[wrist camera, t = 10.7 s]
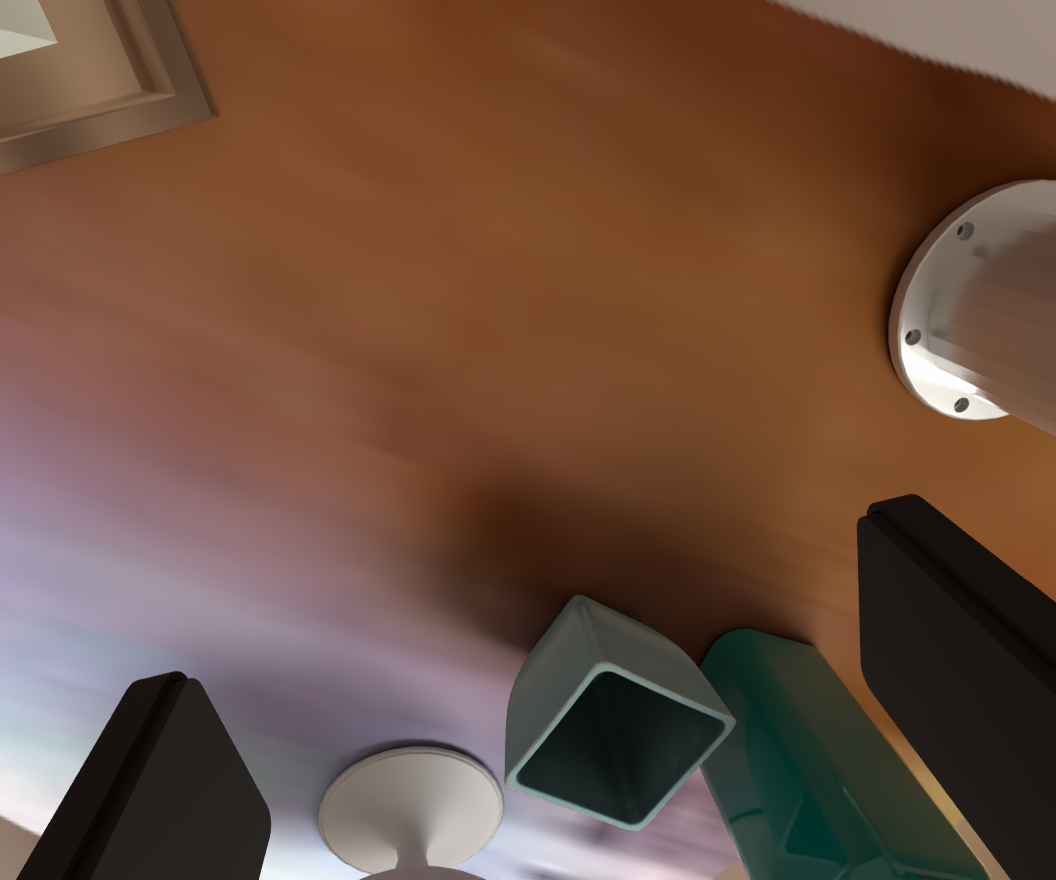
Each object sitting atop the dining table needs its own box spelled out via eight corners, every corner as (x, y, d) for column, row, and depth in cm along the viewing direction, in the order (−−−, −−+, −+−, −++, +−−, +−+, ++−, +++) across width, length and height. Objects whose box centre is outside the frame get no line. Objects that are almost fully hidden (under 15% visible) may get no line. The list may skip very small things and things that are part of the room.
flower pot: (485, 663, 43) (499, 788, 35) (564, 553, 41) (601, 660, 33) (600, 710, 46) (639, 836, 38) (681, 610, 44) (741, 722, 35)
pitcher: (768, 741, 49) (1005, 1160, 29) (663, 717, 47) (842, 1154, 27) (842, 631, 46) (1165, 1017, 26) (733, 600, 44) (995, 997, 24)
